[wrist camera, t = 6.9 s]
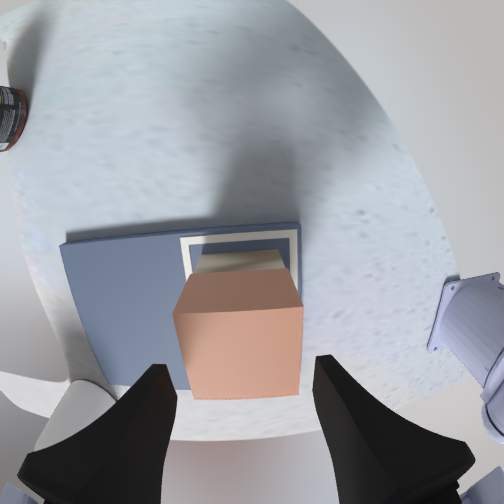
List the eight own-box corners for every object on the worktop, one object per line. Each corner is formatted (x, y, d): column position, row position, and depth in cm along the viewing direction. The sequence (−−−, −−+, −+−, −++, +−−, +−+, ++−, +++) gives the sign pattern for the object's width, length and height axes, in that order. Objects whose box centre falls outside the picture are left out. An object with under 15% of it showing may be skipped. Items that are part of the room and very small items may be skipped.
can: (129, 417, 25) (102, 500, 13) (88, 412, 25) (56, 484, 13) (104, 378, 23) (60, 468, 11) (62, 375, 23) (17, 449, 11)
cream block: (278, 249, 18) (287, 272, 14) (279, 315, 19) (287, 349, 16) (201, 254, 18) (190, 279, 14) (210, 319, 19) (203, 354, 15)
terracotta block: (288, 267, 14) (303, 306, 10) (287, 346, 15) (298, 394, 12) (190, 273, 14) (172, 313, 10) (203, 350, 15) (194, 399, 12)
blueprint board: (297, 222, 18) (300, 225, 17) (295, 377, 23) (297, 385, 22) (65, 242, 18) (58, 246, 17) (111, 377, 22) (107, 384, 21)
